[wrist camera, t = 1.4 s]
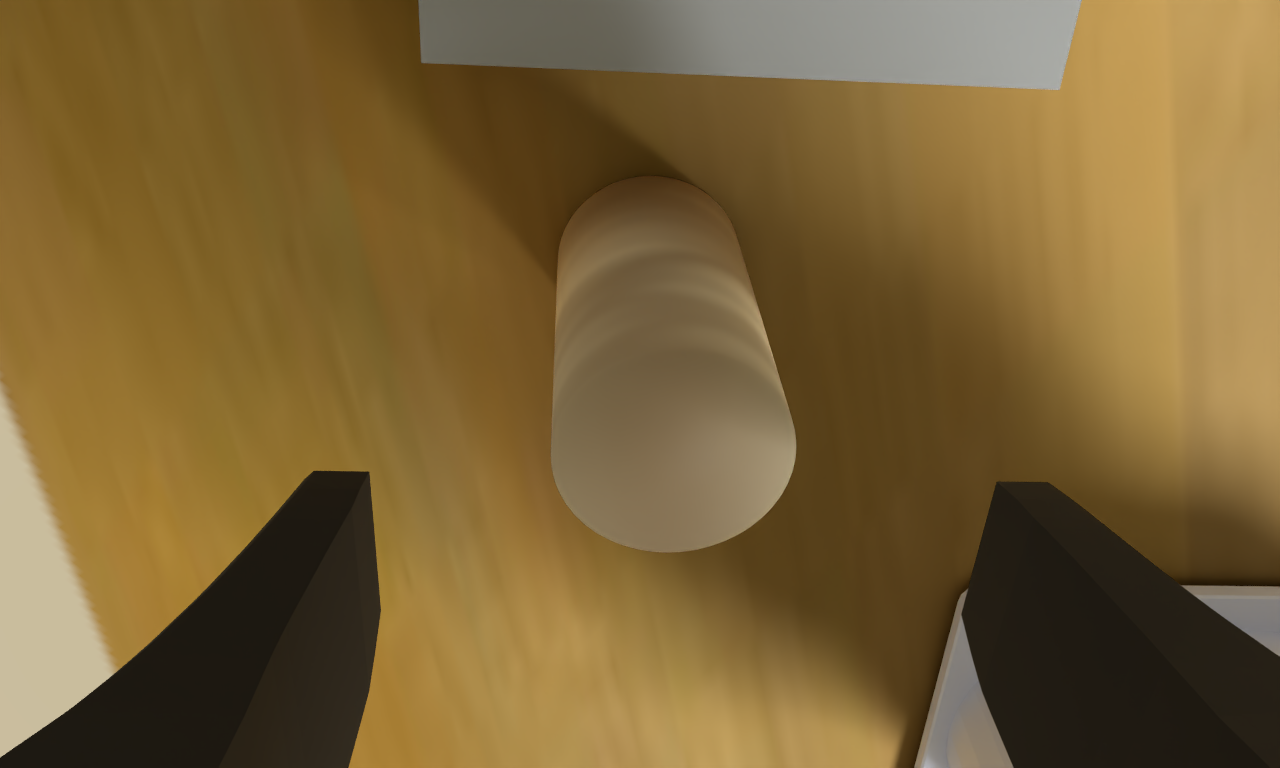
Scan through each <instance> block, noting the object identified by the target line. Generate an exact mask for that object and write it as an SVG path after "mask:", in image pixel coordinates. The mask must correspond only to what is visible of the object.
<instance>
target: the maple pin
mask: <svg viewBox="0 0 1280 768" xmlns="http://www.w3.org/2000/svg"><path fill="white" fill-rule="evenodd" d="M795 458H796V434H795V429H794V425H793V421H792V417H791V414H790V411H789V407H788V404H787V401H786V397H785V394H784V391H783V388H782V384H781V381H780V378H779V374H778V371H777V368H776V364H775V361H774V358H773V354H772V351H771V348H770V345H769V341H768V338H767V335H766V331H765V328H764V325H763V321H762V318H761V315H760V311H759V308H758V305H757V302H756V298H755V295H754V292H753V288H752V285H751V282H750V278H749V275H748V272H747V268H746V265H745V262H744V259H743V255H742V252H741V249H740V245H739V242H738V239H737V235H736V232H735V230H734V227H733V225H732V223H731V221H730V219H729V218H728V216H727V214H726V213H725V211H724V210H723V209H722V208H721V207H720V205H719V204H718V203H717V202H716V201H715V200H714V199H713V198H711V197H710V196H709V195H708V194H706V193H705V192H703V191H702V190H701V189H699V188H697V187H695V186H693V185H691V184H689V183H686V182H683V181H681V180H678V179H673V178H669V177H661V176H640V177H634V178H628V179H625V180H621V181H618V182H615V183H613V184H611V185H608V186H606V187H604V188H603V189H601V190H599V191H598V192H596V193H595V194H593V195H592V196H591V197H589V198H588V199H587V200H586V201H585V202H584V203H583V204H582V205H581V206H580V207H579V208H578V209H577V210H576V212H575V213H574V214H573V216H572V217H571V219H570V220H569V222H568V224H567V226H566V227H565V230H564V232H563V235H562V238H561V241H560V246H559V251H558V266H557V294H556V322H555V350H554V378H553V406H552V434H551V466H552V471H553V476H554V480H555V483H556V485H557V488H558V490H559V493H560V495H561V496H562V498H563V500H564V501H565V503H566V505H567V506H568V507H569V508H570V510H571V511H572V512H573V514H574V515H575V516H576V517H577V518H578V519H579V520H581V521H582V522H583V523H584V524H585V525H586V526H588V527H589V528H590V529H592V530H593V531H594V532H596V533H598V534H599V535H601V536H603V537H605V538H607V539H608V540H611V541H613V542H616V543H618V544H621V545H624V546H627V547H631V548H634V549H639V550H645V551H650V552H665V553H667V552H684V551H691V550H697V549H701V548H705V547H709V546H713V545H715V544H718V543H721V542H724V541H726V540H728V539H730V538H732V537H734V536H736V535H738V534H740V533H742V532H743V531H745V530H746V529H748V528H750V527H751V526H752V525H754V524H755V523H756V522H757V521H759V520H760V519H761V518H762V517H763V516H764V515H765V514H766V513H767V512H768V511H769V510H770V509H771V508H772V507H773V506H774V504H775V503H776V502H777V501H778V499H779V498H780V497H781V495H782V493H783V491H784V490H785V488H786V486H787V484H788V482H789V479H790V477H791V474H792V472H793V467H794V463H795Z"/></svg>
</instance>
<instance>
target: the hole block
mask: <svg viewBox="0 0 1280 768" xmlns="http://www.w3.org/2000/svg"><path fill="white" fill-rule="evenodd" d="M1081 1H1082V0H419V23H420V46H421V63H433V64H457V65H481V66H505V67H528V68H552V69H576V70H599V71H623V72H647V73H671V74H694V75H718V76H742V77H765V78H789V79H813V80H837V81H860V82H884V83H908V84H932V85H955V86H979V87H1003V88H1026V89H1050V90H1060V86H1061V81H1062V77H1063V73H1064V69H1065V65H1066V61H1067V57H1068V53H1069V49H1070V45H1071V41H1072V37H1073V33H1074V29H1075V25H1076V21H1077V17H1078V13H1079V9H1080V5H1081Z"/></svg>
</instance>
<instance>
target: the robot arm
mask: <svg viewBox="0 0 1280 768" xmlns="http://www.w3.org/2000/svg"><path fill="white" fill-rule="evenodd" d="M380 612H381V607H380V595H379V583H378V571H377V559H376V547H375V535H374V523H373V511H372V499H371V487H370V475H369V472H355V471H313V472H312V473H311V474H310V475H309V476H308V477H307V478H305V479H304V481H303V482H302V483H301V484H300V485H299V486H298V488H297V489H296V490H295V491H294V492H293V493H292V495H291V496H290V497H289V498H288V499H287V501H286V502H285V503H284V504H283V505H282V506H281V508H280V509H279V510H278V511H277V512H276V513H275V515H274V516H273V517H272V518H271V519H270V520H269V522H268V523H267V524H266V525H265V526H264V527H263V528H262V530H261V531H260V532H259V533H258V534H257V535H256V536H255V537H254V539H253V540H252V541H251V542H250V543H249V544H248V545H247V546H246V547H245V549H244V550H243V551H242V552H241V553H240V554H239V555H238V556H237V557H236V558H235V559H234V560H233V561H232V562H231V563H230V564H229V566H228V567H227V568H226V569H225V570H224V571H223V572H222V573H221V574H220V575H219V576H218V577H217V578H216V579H215V580H214V581H213V582H212V584H211V585H210V586H209V587H208V588H207V589H206V590H205V591H204V592H203V593H202V594H201V595H200V596H199V597H198V598H197V599H196V600H195V601H194V602H193V603H192V604H190V605H189V606H188V607H187V608H186V609H185V610H184V611H183V612H182V613H181V614H180V615H179V616H178V617H177V618H176V619H175V620H174V621H173V622H172V623H170V624H169V625H168V626H167V627H166V628H165V629H164V630H163V631H162V632H161V633H160V634H159V635H158V636H157V637H156V638H155V639H154V640H153V641H152V642H150V643H149V644H148V645H147V646H146V647H145V648H144V649H143V650H141V651H140V652H139V653H138V654H137V655H136V656H135V657H133V658H132V659H131V660H130V661H129V662H128V663H127V664H125V665H124V666H123V667H122V668H121V669H120V670H118V671H117V672H116V673H115V674H114V675H112V676H111V677H110V678H109V679H108V680H106V681H105V682H104V683H103V684H101V685H100V686H99V687H98V688H96V689H95V690H94V691H93V692H91V693H90V694H89V695H88V696H86V697H85V698H84V699H83V700H81V701H80V702H79V703H77V704H76V705H75V706H74V707H72V708H71V709H70V710H68V711H67V712H65V713H64V714H63V715H61V716H60V717H58V718H57V719H55V720H54V721H53V722H51V723H50V724H48V725H47V726H45V727H44V728H42V729H41V730H40V731H38V732H37V733H35V734H34V735H32V736H31V737H29V738H28V739H27V740H25V741H24V742H22V743H21V744H19V745H18V746H16V747H15V748H13V749H12V750H11V751H9V752H8V753H6V754H5V755H3V756H2V757H1V758H0V768H348V767H349V763H350V760H351V756H352V752H353V749H354V745H355V741H356V738H357V734H358V730H359V727H360V723H361V719H362V716H363V712H364V708H365V704H366V701H367V697H368V693H369V688H370V682H371V675H372V669H373V662H374V656H375V648H376V641H377V634H378V627H379V620H380ZM914 768H1280V587H1276V586H1186V585H1180V584H1178V583H1177V582H1176V581H1175V580H1173V579H1172V578H1171V577H1169V576H1168V575H1167V574H1165V573H1164V572H1163V571H1162V570H1160V569H1159V568H1158V567H1157V566H1155V565H1154V564H1153V563H1151V562H1150V561H1149V560H1148V559H1146V558H1145V557H1144V556H1143V555H1141V554H1140V553H1139V552H1137V551H1136V550H1135V549H1134V548H1132V547H1131V546H1130V545H1129V544H1127V543H1126V542H1125V541H1124V540H1122V539H1121V538H1120V537H1119V536H1117V535H1116V534H1115V533H1114V532H1112V531H1111V530H1110V529H1109V528H1107V527H1106V526H1105V525H1104V524H1102V523H1101V522H1100V521H1099V520H1097V519H1096V518H1095V517H1094V516H1092V515H1091V514H1090V513H1089V512H1087V511H1086V510H1085V509H1083V508H1082V507H1081V506H1080V505H1078V504H1077V503H1076V502H1074V501H1073V500H1072V499H1070V498H1069V497H1068V496H1066V495H1065V494H1064V493H1062V492H1061V491H1060V490H1058V489H1057V488H1055V487H1054V486H1052V485H1051V484H1050V483H1048V482H997V483H996V486H995V490H994V494H993V498H992V501H991V505H990V509H989V513H988V516H987V520H986V524H985V527H984V531H983V535H982V539H981V542H980V546H979V550H978V553H977V557H976V561H975V565H974V568H973V572H972V576H971V580H970V583H969V587H968V589H967V590H966V591H965V592H964V593H962V594H961V596H960V598H959V600H958V603H957V607H956V610H955V614H954V618H953V622H952V626H951V629H950V633H949V637H948V641H947V645H946V649H945V652H944V656H943V660H942V664H941V668H940V671H939V675H938V679H937V683H936V687H935V690H934V694H933V698H932V702H931V706H930V710H929V713H928V717H927V721H926V725H925V729H924V732H923V736H922V740H921V744H920V748H919V751H918V755H917V759H916V763H915V767H914Z"/></svg>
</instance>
